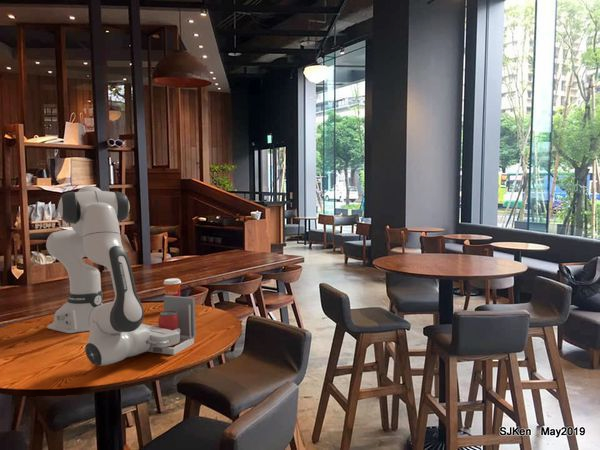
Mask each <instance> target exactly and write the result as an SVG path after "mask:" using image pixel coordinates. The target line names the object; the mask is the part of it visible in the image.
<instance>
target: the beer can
mask: <svg viewBox="0 0 600 450" xmlns="http://www.w3.org/2000/svg"><path fill="white" fill-rule="evenodd" d="M176 313H177V312H176V311H164V310H163V311H161V312H160V313H159V316H158V320H157V323H158V325H159V328H164V329H168V330H173V329H175V328H179V327H178V316H177V314H176ZM179 344H180V343H177V344H174V345H171V346H167V347H172V348H173V347H175V346H177V345H179Z"/></svg>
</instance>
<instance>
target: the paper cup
mask: <svg viewBox="0 0 600 450" xmlns="http://www.w3.org/2000/svg"><path fill="white" fill-rule="evenodd" d="M181 283H182V281H181V279H180V278H166V279H164V281H163V287H164V296H178V297H181Z"/></svg>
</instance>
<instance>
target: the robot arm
mask: <svg viewBox="0 0 600 450" xmlns="http://www.w3.org/2000/svg"><path fill="white" fill-rule="evenodd" d="M130 207H131V206H130V201H129V199H128V196H127V195H126V194H125V193H124V192H121V191H107V190H101V188H99V187H97V186H94V185H86V186H82V187H80V188H79V189H78V191H76V192H75V191H68V192H67V191H66V192H64V193H63V194H61V196H60V199H59V202H58V205H57V209H58V213H59V216H60V217H61V220H62V221H63V222H66V223H68V224H70V226H71V228H72V229H63V230H59V231H58V230H57V231H54V232H51V233H50V234H49V235H48V237H47V239H46V243H45V247H46V250H47V252H48V254H49V255H50V256H51V257H52V258H54V259H56V260H58V261H59V262H60V263H61V264H62V266H64V267H65V269H66V272H67V274H68V280H69V291H70V292H68V293H67V294H65V296H64V298H67V299H66V302H65V303H64V304H63V305H62V306H61V307H60V308H58V309H57V310H56V311H55V312H54V316H53V322H52V323H50V324H48V325H47V326H46V327H47V329H48V330H53V331H58V332H62V333H66V334H74V333H80V332H81V333H83V332H89V335H88V340H87V342H86V344H85V346H84V352H85V355H86V357H87V359H88V360H89V362H91V363H92V364H93V365H95V366H99V367H101V366H107V365H112V364H115V363H118V362H121V361H123V360H125V359H124V358H126V357H128V358H132V357H135V356H139V355H141V354H143V353H146V352H147V350H148V349H149V347H150V345H151V346H156V347H167V346H171V345H174V344H177V343H179V341H180V329H179V328H175V329H173V330H168V329H164V328H159V324H158V325H149V324H145V323H143V321H144V317H145V316H144V315H145V310H144V306H143V304H142V302H141V299H140V298H139V295H138V292H137V287H136V283H135V278H134V273H133V268H132V265H131V260H130V256H129V255H128V253H127V250H126V249H125V248H124V246H123V244H122V243H123V242H122V238H121V230H120V224H119V222H122V221H125V220H127V218H128V217H129V213H130V209H131V208H130ZM83 258H88V260H90V261H91V262H92V263H94V264H97V265H100V266H104V267H105V268H107V269H108V271H109V273H110V278H111V282H112V287H113V292H114V293H113V294H114V299H113V301H110V302H106V303H103V290H102V284H101V283H102V282H101V281H102V280H101V272H100V269H98V268H97V267H95V266H93V265H90V264H87V263H86V262H84V259H83ZM179 344H180V343H179ZM126 359H127V358H126Z"/></svg>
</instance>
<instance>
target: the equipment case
mask: <svg viewBox="0 0 600 450" xmlns="http://www.w3.org/2000/svg"><path fill="white" fill-rule="evenodd" d="M195 300H196V298H195V297H190V296H189V297H187V296H180V297H178V296H165V295H163V312H164V311H176V312H177V313H176V314H177V316H178V327H179V329H180V341H179V345H177V346H175V347H173V348H172V347H156V346H151V345H150V347H149V349H148V350H147V351H146V352H148V353H149V352H150V353H156V354H163V355H164V354H165V355H172V356H175V355H176V354H179V353H180V352H182V351H183V350H186V349H188V348H189V347H190V346H192V345H194V344H195V339H196V338H197V333H196V332H197V330H196V329H197V327H196V301H195Z"/></svg>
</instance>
